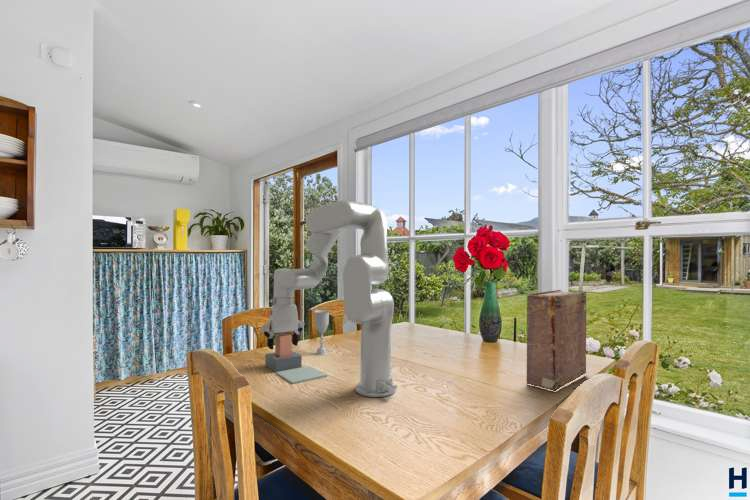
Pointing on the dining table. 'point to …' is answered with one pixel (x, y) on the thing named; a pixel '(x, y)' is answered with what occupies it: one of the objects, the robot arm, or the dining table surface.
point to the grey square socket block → (283, 362)
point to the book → (555, 338)
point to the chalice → (321, 327)
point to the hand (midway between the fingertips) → (283, 346)
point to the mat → (301, 374)
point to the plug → (283, 345)
